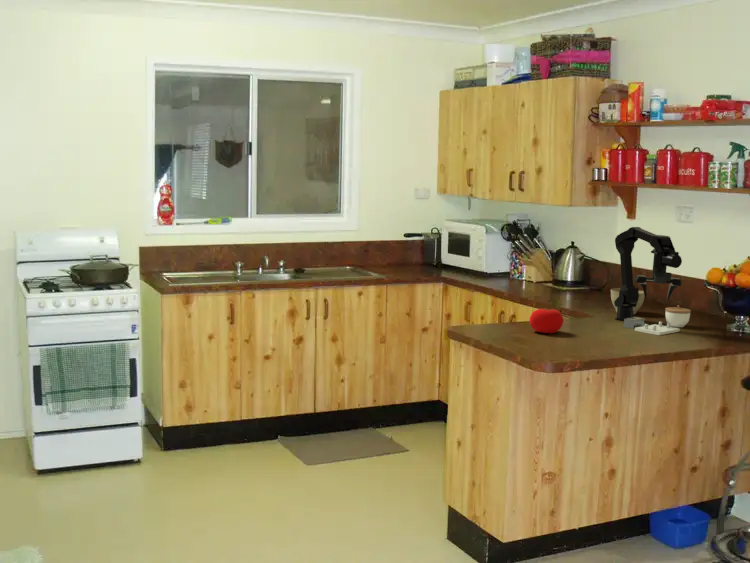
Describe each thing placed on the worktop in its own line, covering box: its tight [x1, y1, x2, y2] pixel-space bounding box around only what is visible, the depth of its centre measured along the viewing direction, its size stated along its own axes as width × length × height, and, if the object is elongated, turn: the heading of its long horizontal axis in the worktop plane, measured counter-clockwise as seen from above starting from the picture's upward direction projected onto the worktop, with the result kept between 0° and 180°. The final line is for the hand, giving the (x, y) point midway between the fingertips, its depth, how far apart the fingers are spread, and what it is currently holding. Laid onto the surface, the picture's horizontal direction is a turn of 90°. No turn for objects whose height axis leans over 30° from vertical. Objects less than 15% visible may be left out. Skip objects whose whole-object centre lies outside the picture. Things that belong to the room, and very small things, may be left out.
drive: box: [623, 316, 646, 330], centre depth 403 cm, size 5×8×4 cm, turn 130°
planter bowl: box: [610, 287, 645, 315], centre depth 440 cm, size 16×16×11 cm
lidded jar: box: [664, 304, 692, 328], centre depth 409 cm, size 11×11×9 cm
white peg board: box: [634, 321, 681, 336], centre depth 395 cm, size 12×16×3 cm
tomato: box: [528, 307, 564, 335], centre depth 383 cm, size 14×13×10 cm
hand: (656, 299), depth 400 cm, fingers open, 9 cm apart
